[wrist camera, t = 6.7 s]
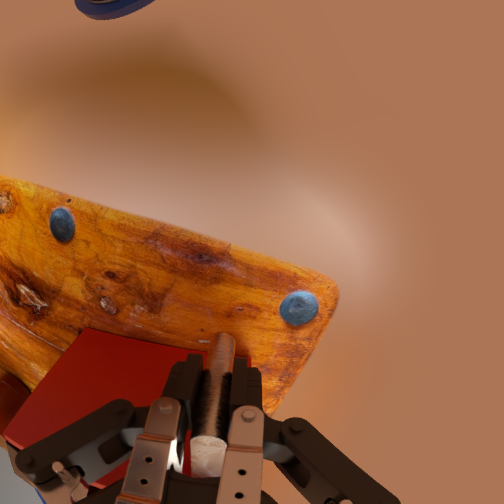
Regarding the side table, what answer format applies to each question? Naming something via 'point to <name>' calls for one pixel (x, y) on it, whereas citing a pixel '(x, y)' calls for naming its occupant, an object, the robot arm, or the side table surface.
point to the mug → (10, 402)
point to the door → (130, 394)
